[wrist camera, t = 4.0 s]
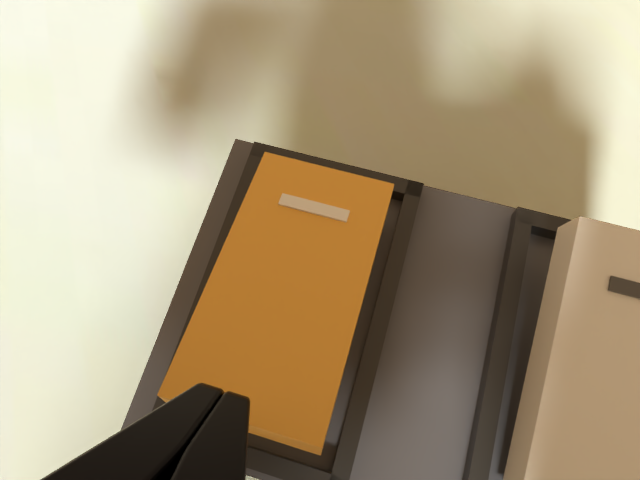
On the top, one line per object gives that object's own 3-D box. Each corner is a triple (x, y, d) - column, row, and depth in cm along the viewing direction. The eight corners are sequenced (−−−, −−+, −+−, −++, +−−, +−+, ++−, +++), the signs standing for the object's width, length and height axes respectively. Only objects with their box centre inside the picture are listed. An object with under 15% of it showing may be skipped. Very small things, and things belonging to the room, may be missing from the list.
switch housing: (553, 541, 18) (732, 640, 10) (204, 428, 19) (110, 433, 11) (583, 313, 20) (743, 243, 12) (272, 230, 22) (236, 119, 14)
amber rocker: (321, 455, 10) (322, 447, 9) (172, 408, 11) (156, 394, 9) (387, 211, 13) (394, 182, 12) (267, 181, 13) (264, 150, 12)
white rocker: (656, 547, 10) (697, 577, 9) (498, 497, 11) (516, 520, 10) (705, 264, 11) (748, 256, 10) (558, 227, 12) (580, 215, 10)
